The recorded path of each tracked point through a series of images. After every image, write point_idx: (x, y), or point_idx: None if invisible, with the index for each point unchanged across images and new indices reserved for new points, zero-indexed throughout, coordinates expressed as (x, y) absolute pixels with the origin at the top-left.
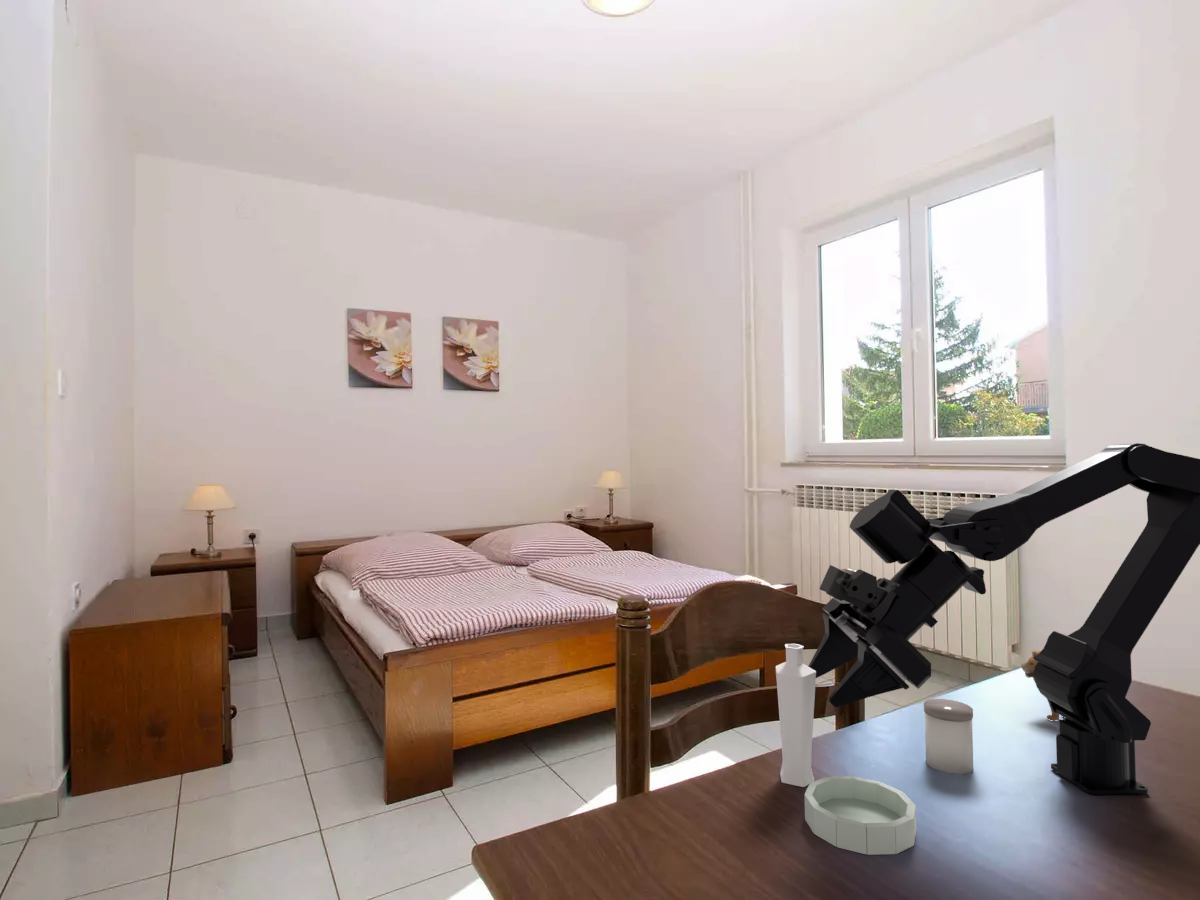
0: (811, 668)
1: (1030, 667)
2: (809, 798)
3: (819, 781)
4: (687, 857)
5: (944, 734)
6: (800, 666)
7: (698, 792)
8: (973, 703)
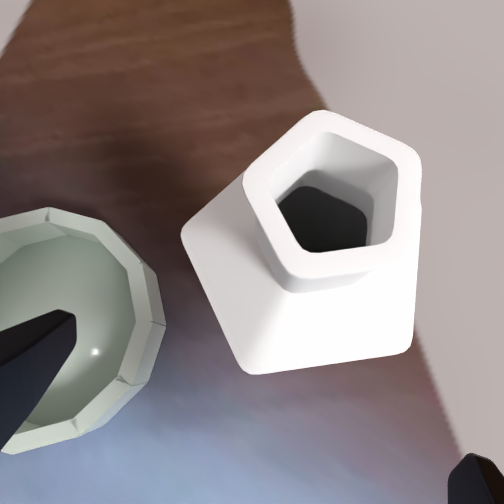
0: (483, 500)
1: None
2: (83, 220)
3: (138, 286)
4: (101, 18)
5: None
6: (249, 250)
7: (282, 104)
8: None
